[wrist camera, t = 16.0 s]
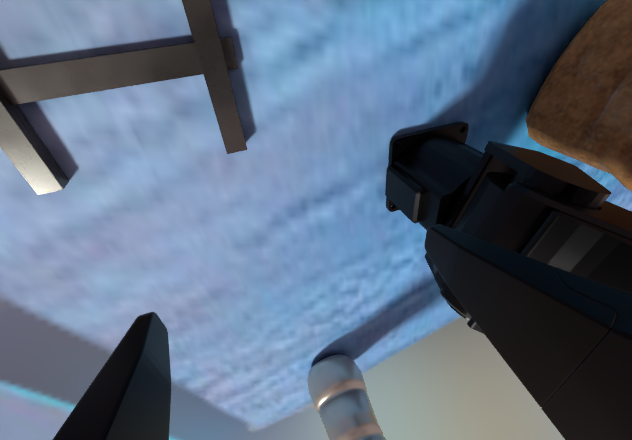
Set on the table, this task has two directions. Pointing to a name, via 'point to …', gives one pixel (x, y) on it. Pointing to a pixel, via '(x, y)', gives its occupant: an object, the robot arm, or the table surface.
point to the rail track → (114, 72)
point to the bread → (591, 95)
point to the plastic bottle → (342, 400)
